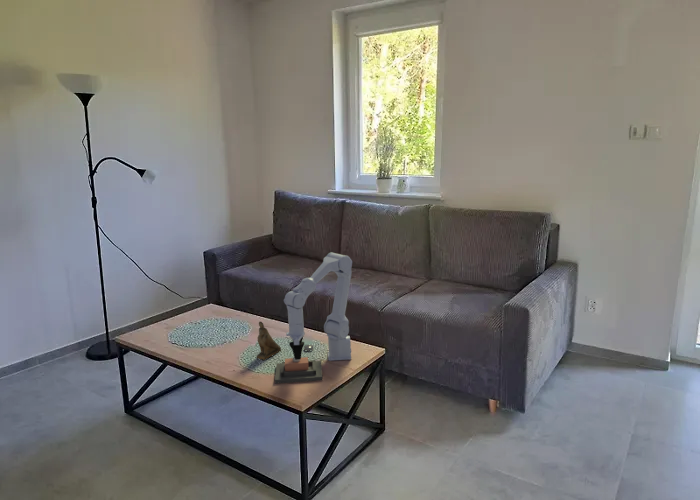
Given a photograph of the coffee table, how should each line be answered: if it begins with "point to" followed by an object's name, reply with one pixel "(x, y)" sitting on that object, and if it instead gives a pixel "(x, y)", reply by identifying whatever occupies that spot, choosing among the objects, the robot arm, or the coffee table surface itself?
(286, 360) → the orange knobbed block
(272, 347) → the brown carved statuette
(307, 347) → the domed chrome disc
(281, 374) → the stand
